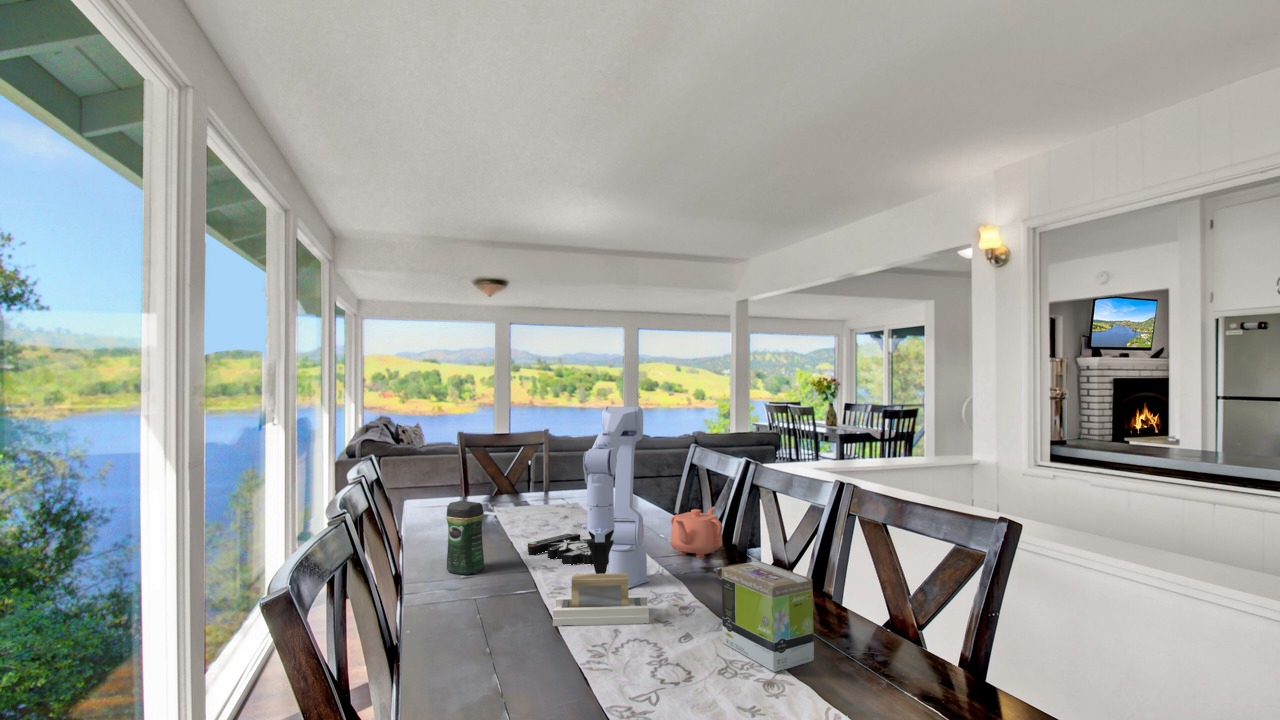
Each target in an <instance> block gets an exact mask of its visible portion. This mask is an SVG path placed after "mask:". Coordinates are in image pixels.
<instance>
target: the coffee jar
mask: <svg viewBox="0 0 1280 720" xmlns="http://www.w3.org/2000/svg"><path fill="white" fill-rule="evenodd" d="M483 507H484V506H483V504H482V503H481V502H476V501H468V500H467V501H466V500H457V501H452V502H449V504H448V505H447V508H446V523H447V529H448V532H447V533H448V535H447V536H448V537H447V538H448V539H447V554H446V556H447V557H446V570H447V572H448V573H452V574H458V575H469V574H477V573H479V572H481V571H482V570H483V569H484V568H485V557H484V555H485V554H484V548H483V547H484V546H483V530H482V529H483V528H482V527H483V522H484V521H483V520H484V516H485V514H484V508H483Z"/></svg>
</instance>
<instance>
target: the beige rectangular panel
mask: <svg viewBox="0 0 1280 720" xmlns="http://www.w3.org/2000/svg"><path fill="white" fill-rule="evenodd" d="M628 596H629V588H628V573H618V574H609V573H605V574H596V573H581V574H577V573H575V574H572V577H571V597H572V608H579V607H617V606H628Z"/></svg>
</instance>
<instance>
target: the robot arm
mask: <svg viewBox="0 0 1280 720" xmlns="http://www.w3.org/2000/svg"><path fill="white" fill-rule="evenodd" d="M601 425H602V428H603V430H602V431H601V432H599V433H598V435H597V437H596V439H595V440H594V444H593V445H592V448H589V449H588V450H585V451H584V454H583V457H582V460H583V461H582V465H583V467H582V469H583V473H584V482H585V484H586V490H587V491H586V499H587V500H586V504H587V505H586V507H587V508H586V511H587V513H586V515H587V516H586V517H587V518H586V519H587V521H586V522H587V523H586V524H585V523H584V524H582V525H581V529H582V530H587V531H588V535H589V536H590V538H586V539H587V545H588V547H589V549H590V551H591V554H592V558H593V564H594V565H593V568H594V574H607V569H608V574H618V573H628V589H631V588H633V587H636V586H639V585H642V584H646V583H647V582H650V579H649V578H647V577H648V568H647V567H648V566H647V563H648V562H647V561H648V560H647V559H648V558H647V552H646V550H645V548H644V546H642V545H643V543H644V538H645V537H644V536H645V534H644V533H645V530H644V529H645V528H644V518H643V515H642V514H641V513H640V512H639V511H638V510H637V509H635V508H634V507H633V504H634V503H633V501H634V473H635V472H634V471H635V449H636V444H637V442H639V441H641V440H643V435H644V412H643V409H642V407H641V406H605V407H604V408H603V409H602V414H601ZM614 476H615V481H614ZM617 519H619V520H617ZM621 519H622V520H621ZM608 557H609V564H608Z"/></svg>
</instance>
